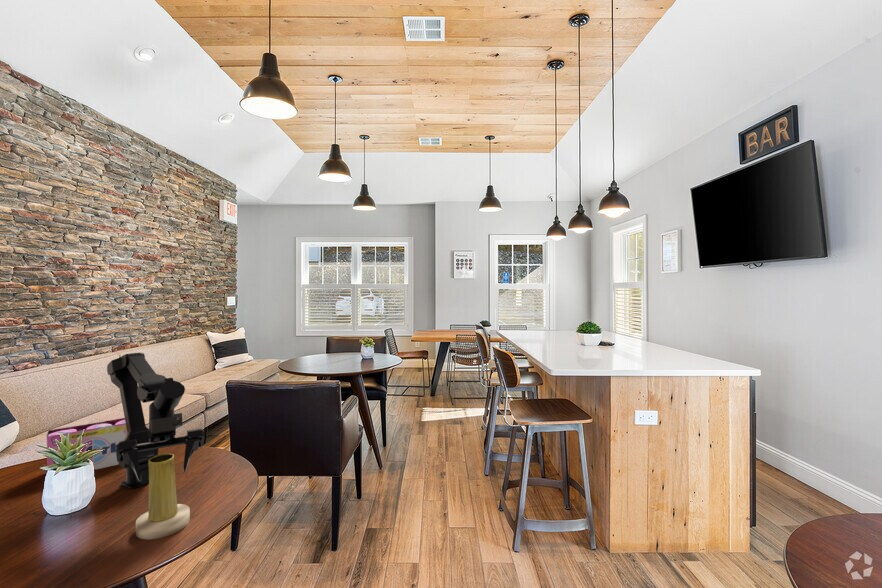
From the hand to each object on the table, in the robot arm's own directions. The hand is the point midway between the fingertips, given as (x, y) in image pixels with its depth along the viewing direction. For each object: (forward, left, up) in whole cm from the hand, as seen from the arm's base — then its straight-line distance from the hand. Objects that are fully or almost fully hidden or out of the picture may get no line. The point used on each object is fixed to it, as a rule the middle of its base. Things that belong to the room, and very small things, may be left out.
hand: (162, 476), depth 103 cm
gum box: (-56, +9, -12) cm, 58 cm away
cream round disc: (+1, -1, -12) cm, 12 cm away
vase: (+1, -1, -9) cm, 9 cm away
